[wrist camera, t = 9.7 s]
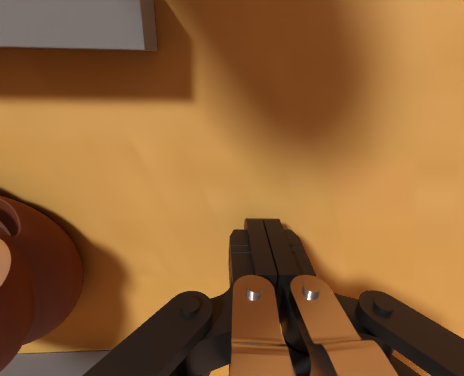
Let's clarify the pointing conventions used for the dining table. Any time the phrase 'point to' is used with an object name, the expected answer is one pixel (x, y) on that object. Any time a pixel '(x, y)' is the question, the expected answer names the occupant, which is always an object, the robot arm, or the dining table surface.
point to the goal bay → (78, 38)
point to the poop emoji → (33, 276)
